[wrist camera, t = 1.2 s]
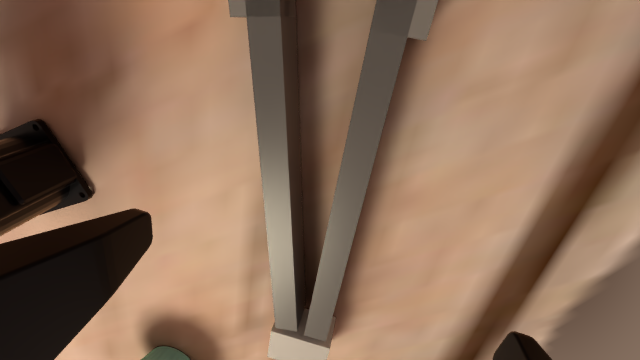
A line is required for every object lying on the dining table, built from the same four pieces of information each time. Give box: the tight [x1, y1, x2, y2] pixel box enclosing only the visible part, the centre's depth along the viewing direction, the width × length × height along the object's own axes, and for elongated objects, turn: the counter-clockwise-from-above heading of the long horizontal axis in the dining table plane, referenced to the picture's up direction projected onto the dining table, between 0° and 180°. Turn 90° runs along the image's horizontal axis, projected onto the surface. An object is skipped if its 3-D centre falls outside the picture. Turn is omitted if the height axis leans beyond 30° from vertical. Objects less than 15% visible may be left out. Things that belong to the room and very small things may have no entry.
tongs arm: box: [228, 0, 306, 332], centre depth 19 cm, size 24×2×3 cm, turn 0°
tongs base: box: [267, 0, 438, 360], centre depth 20 cm, size 28×5×3 cm, turn 170°
